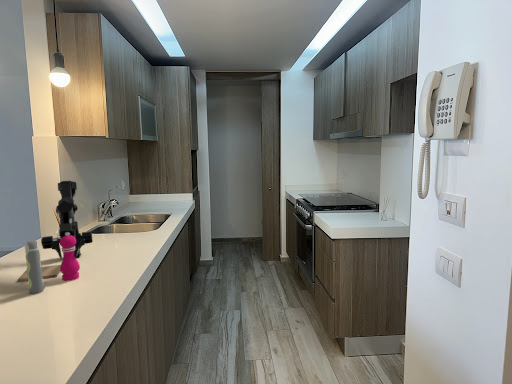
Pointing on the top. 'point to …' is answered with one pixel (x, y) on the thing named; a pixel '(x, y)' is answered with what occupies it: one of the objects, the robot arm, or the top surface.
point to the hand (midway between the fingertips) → (68, 257)
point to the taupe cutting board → (43, 273)
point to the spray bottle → (34, 267)
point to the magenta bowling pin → (69, 258)
